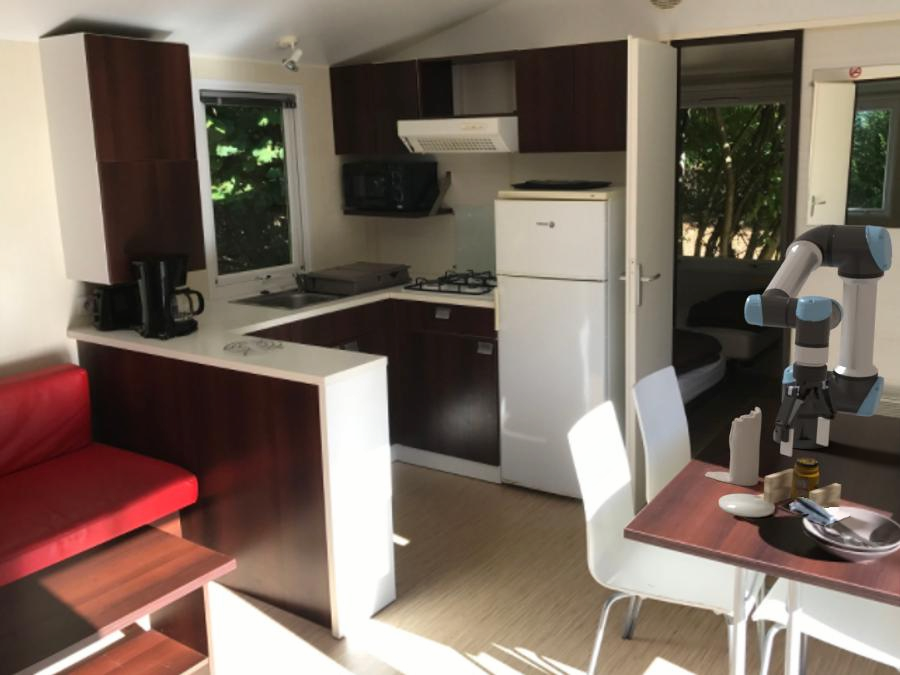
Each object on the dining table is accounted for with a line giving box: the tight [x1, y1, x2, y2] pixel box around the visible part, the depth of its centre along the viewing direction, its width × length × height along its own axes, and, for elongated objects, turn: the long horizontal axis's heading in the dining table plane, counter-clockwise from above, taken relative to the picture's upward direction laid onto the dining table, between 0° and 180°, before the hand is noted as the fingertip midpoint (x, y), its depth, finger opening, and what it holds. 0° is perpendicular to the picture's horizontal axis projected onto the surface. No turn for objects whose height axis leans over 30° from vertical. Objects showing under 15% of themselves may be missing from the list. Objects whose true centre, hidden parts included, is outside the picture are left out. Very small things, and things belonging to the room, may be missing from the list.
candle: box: [704, 406, 763, 487], centre depth 239 cm, size 7×14×20 cm, turn 55°
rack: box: [754, 468, 842, 508], centre depth 221 cm, size 10×20×7 cm, turn 33°
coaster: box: [718, 493, 776, 518], centre depth 223 cm, size 13×13×1 cm
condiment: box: [777, 457, 820, 515], centre depth 220 cm, size 7×8×12 cm
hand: (804, 449), depth 218 cm, fingers open, 13 cm apart
